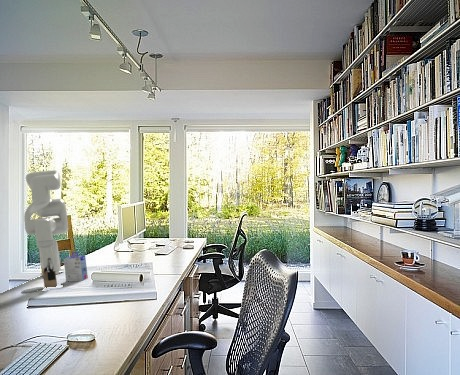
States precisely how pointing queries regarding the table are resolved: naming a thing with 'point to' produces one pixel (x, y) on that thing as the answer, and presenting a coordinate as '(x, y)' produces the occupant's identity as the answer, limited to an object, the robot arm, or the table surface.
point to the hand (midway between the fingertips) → (49, 278)
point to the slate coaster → (32, 290)
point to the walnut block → (49, 283)
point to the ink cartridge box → (75, 268)
